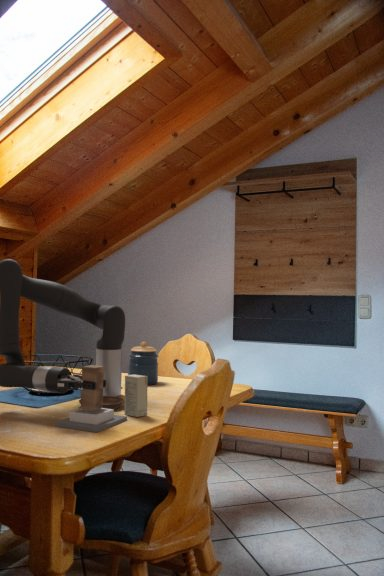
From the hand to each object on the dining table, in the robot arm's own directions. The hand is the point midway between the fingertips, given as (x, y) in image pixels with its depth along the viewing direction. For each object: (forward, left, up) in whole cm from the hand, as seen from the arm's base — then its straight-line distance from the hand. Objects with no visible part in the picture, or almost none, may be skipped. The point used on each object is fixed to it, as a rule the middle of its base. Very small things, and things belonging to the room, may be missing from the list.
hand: (100, 384), depth 146 cm
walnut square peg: (0, -3, -7) cm, 8 cm away
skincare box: (-15, +3, -11) cm, 19 cm away
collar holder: (0, -3, -11) cm, 11 cm away
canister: (-68, -23, -11) cm, 73 cm away
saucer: (-19, -12, -12) cm, 25 cm away
